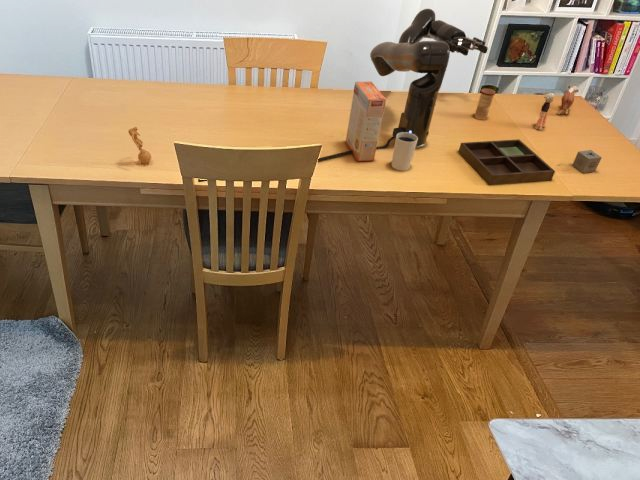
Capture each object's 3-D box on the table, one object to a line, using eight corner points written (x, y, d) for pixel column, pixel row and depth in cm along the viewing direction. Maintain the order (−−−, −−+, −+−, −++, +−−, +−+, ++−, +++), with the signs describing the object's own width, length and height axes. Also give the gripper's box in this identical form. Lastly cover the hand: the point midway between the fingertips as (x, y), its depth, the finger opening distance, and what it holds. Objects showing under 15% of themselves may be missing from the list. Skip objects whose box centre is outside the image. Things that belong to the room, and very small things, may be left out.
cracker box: (375, 161, 188) (387, 98, 175) (357, 162, 187) (367, 99, 174) (362, 141, 199) (372, 80, 185) (345, 141, 198) (354, 80, 184)
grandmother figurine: (545, 132, 210) (559, 97, 201) (534, 130, 210) (547, 96, 202) (542, 122, 215) (555, 89, 207) (531, 121, 216) (544, 88, 207)
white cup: (395, 158, 190) (401, 130, 184) (414, 165, 187) (421, 136, 181) (386, 166, 186) (392, 137, 179) (405, 173, 183) (412, 144, 177)
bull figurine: (572, 106, 228) (581, 85, 223) (566, 118, 219) (574, 97, 214) (561, 103, 230) (569, 82, 224) (554, 115, 221) (562, 94, 216)
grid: (489, 185, 180) (492, 175, 178) (458, 151, 196) (460, 142, 193) (551, 180, 183) (555, 171, 181) (516, 148, 199) (519, 139, 197)
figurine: (151, 169, 179) (148, 132, 171) (131, 169, 178) (127, 133, 170) (151, 156, 185) (148, 120, 177) (132, 156, 184) (128, 120, 177)
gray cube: (595, 171, 189) (601, 157, 186) (582, 172, 188) (588, 159, 185) (584, 163, 193) (590, 149, 189) (572, 165, 191) (578, 151, 188)
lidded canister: (477, 120, 215) (485, 94, 208) (471, 114, 218) (478, 88, 212) (489, 119, 216) (498, 93, 209) (483, 114, 219) (491, 87, 213)
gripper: (463, 45, 227) (489, 60, 216) (432, 48, 223) (457, 64, 212) (468, 25, 222) (496, 39, 211) (437, 28, 218) (463, 42, 207)
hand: (476, 51), depth 212 cm, fingers open, 8 cm apart
